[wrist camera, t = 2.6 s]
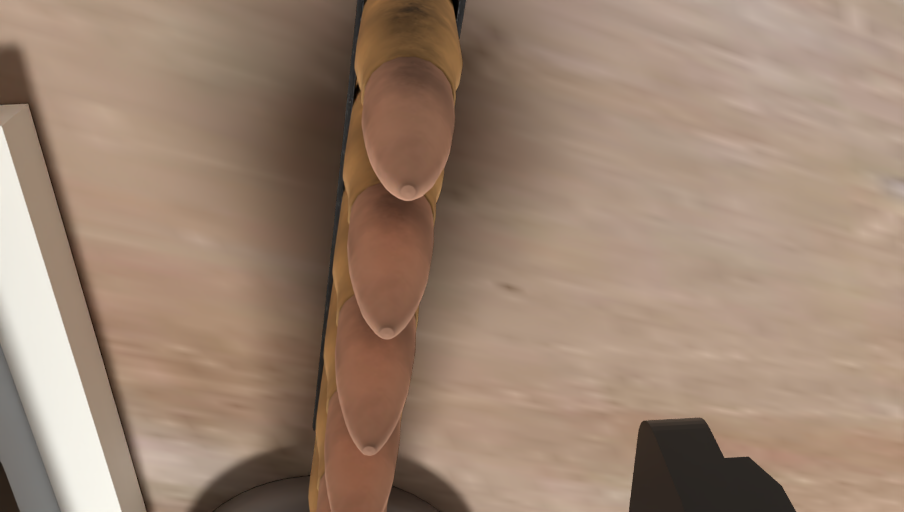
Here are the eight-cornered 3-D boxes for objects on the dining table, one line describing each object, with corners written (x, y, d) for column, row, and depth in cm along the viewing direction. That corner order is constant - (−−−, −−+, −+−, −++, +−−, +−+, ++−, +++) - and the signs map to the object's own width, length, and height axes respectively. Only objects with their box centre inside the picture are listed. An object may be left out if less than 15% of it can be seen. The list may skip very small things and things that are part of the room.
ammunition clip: (395, 323, 24) (383, 745, 13) (329, 316, 24) (266, 739, 13) (456, -71, 19) (513, 117, 8) (373, -85, 18) (325, 91, 8)
